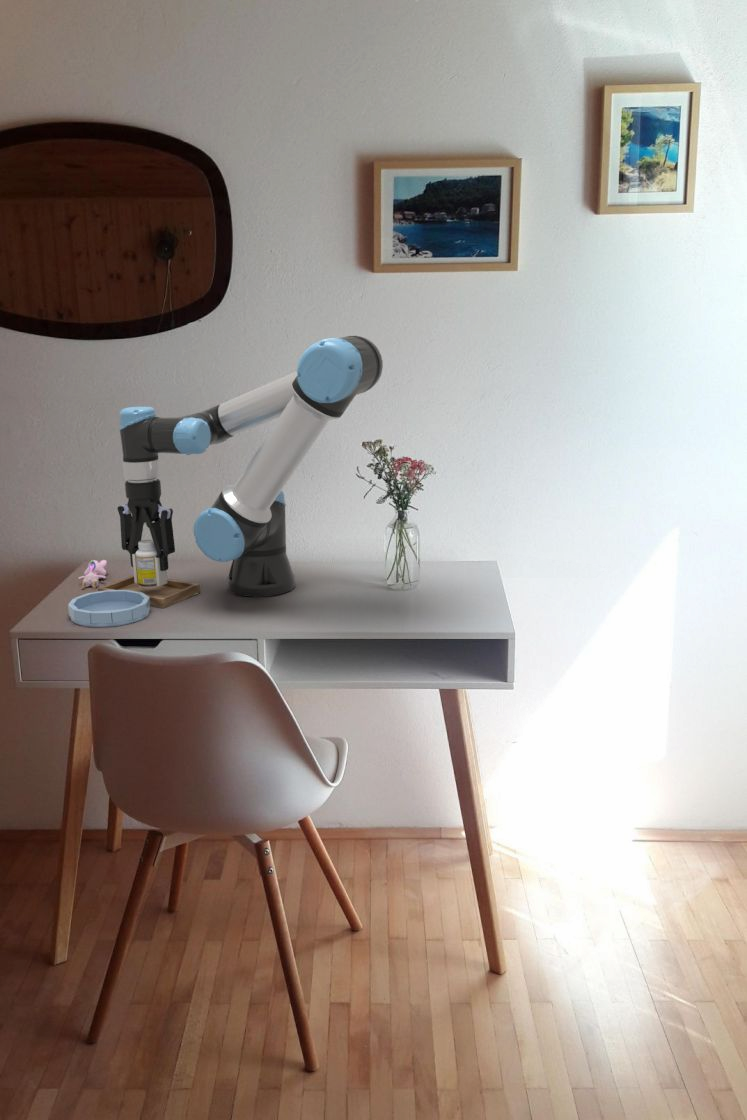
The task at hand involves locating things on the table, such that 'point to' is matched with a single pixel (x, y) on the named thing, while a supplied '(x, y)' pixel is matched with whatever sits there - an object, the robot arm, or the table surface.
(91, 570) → the rabbit figure
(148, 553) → the supplement bottle
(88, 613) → the bowl
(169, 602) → the tray
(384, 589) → the table surface
